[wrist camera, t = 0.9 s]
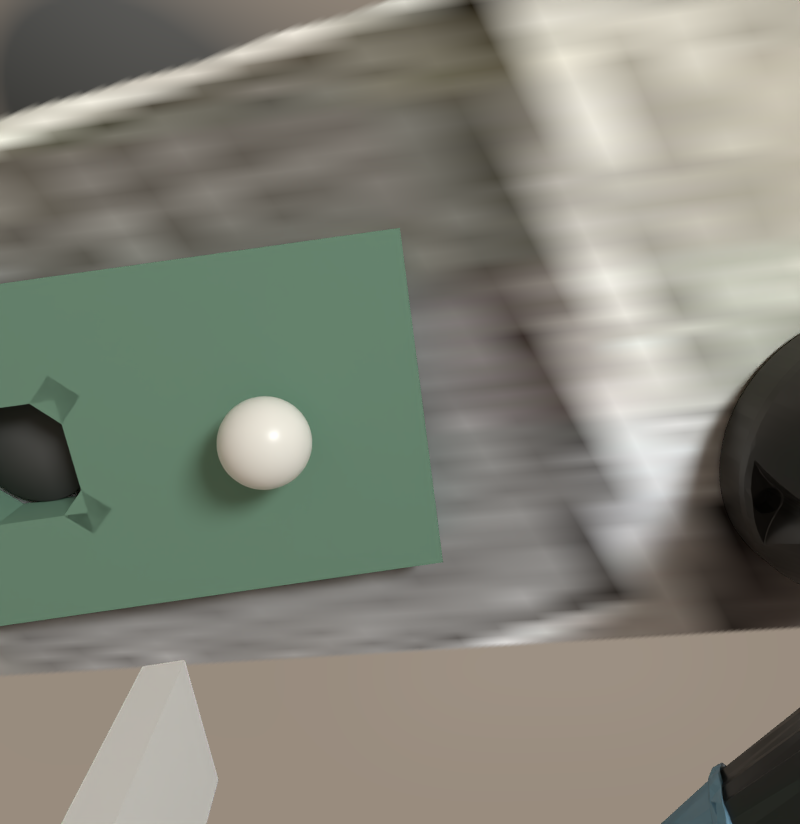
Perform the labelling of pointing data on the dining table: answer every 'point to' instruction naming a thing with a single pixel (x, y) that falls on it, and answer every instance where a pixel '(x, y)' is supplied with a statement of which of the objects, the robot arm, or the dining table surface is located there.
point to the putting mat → (208, 427)
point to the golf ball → (264, 443)
